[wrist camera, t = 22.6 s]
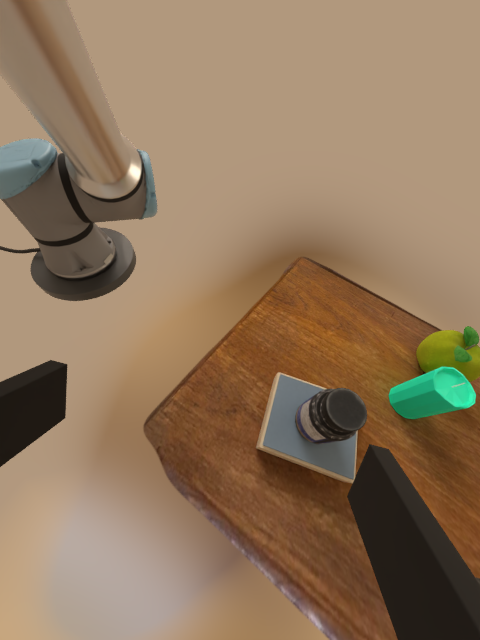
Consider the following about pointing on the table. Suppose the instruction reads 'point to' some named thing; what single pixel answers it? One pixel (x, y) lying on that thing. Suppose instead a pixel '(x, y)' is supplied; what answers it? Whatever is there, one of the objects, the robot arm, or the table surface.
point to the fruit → (451, 352)
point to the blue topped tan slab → (288, 442)
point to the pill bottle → (331, 416)
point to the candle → (432, 394)
